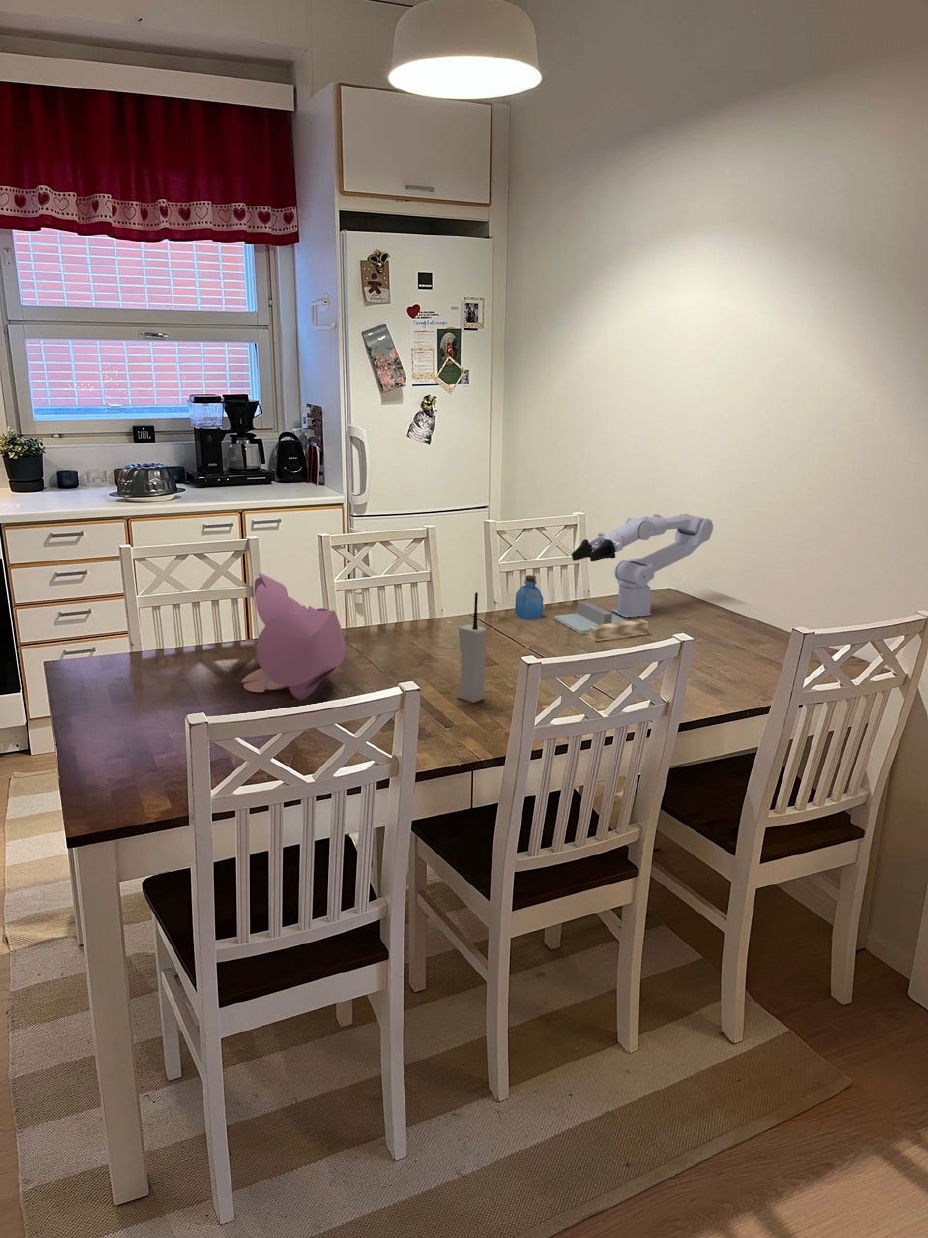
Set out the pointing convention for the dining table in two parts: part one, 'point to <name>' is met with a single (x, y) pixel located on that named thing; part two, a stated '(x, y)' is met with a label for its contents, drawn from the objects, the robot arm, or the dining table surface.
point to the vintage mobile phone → (472, 660)
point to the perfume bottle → (529, 600)
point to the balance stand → (588, 617)
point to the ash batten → (618, 629)
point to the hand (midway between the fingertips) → (581, 557)
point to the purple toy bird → (293, 642)
